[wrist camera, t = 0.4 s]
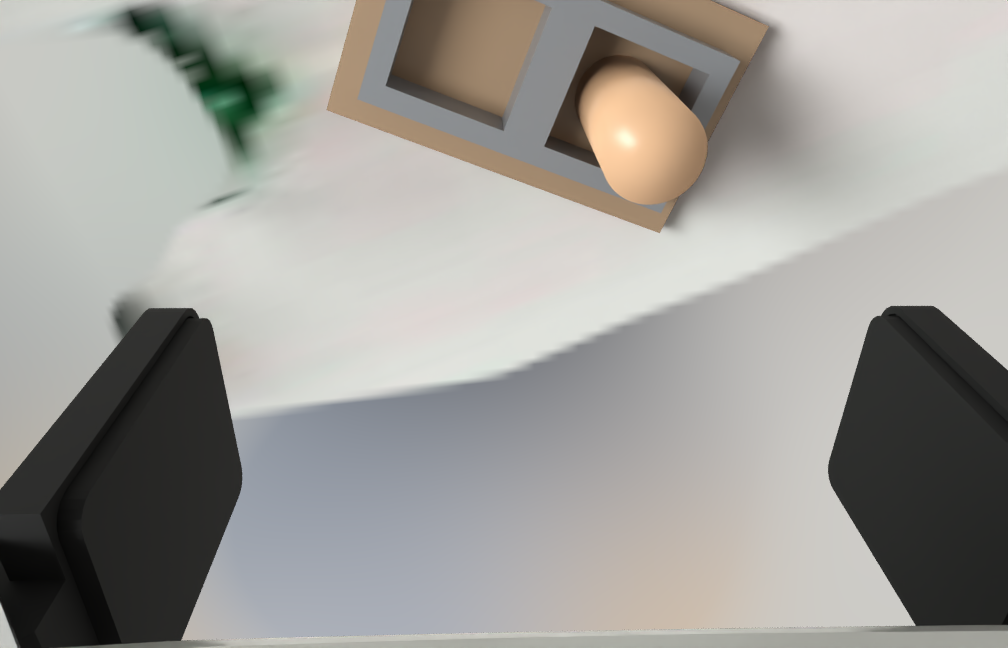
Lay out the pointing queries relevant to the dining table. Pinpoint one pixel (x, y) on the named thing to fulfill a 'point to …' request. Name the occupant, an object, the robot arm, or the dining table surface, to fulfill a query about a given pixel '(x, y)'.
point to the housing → (553, 89)
